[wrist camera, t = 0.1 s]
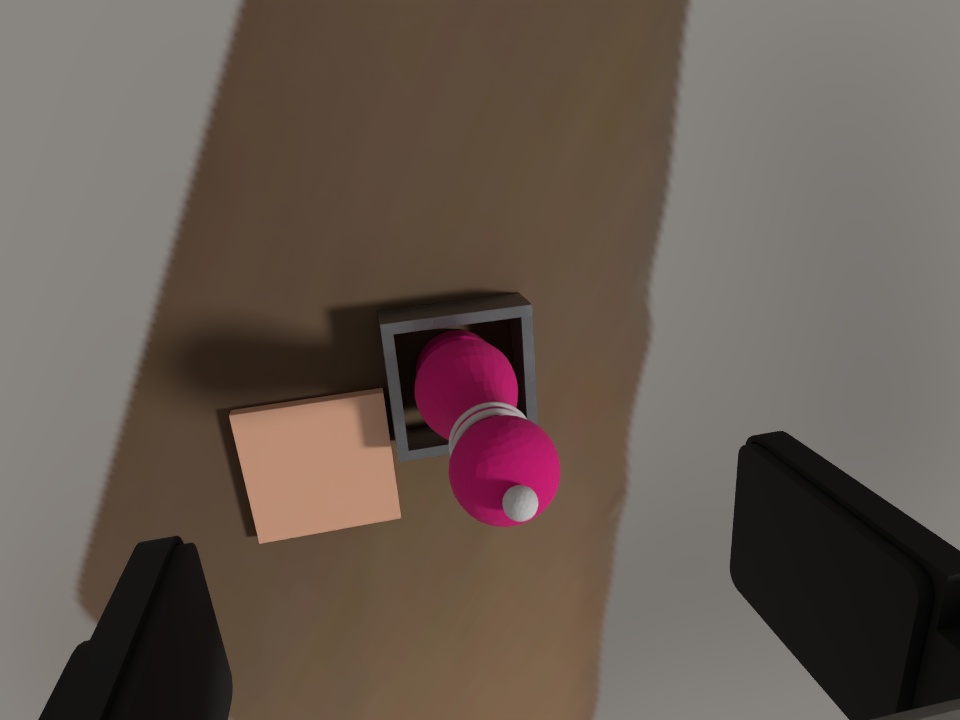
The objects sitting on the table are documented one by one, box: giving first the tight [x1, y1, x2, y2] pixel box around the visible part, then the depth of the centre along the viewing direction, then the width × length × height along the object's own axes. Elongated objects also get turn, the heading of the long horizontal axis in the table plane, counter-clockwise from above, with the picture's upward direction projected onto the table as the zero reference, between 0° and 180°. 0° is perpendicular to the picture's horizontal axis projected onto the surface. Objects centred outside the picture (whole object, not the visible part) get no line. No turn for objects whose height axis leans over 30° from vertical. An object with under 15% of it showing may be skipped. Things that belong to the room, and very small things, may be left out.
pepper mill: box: [414, 330, 560, 527], centre depth 40 cm, size 7×7×20 cm
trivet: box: [229, 388, 401, 544], centre depth 49 cm, size 11×11×1 cm
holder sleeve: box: [377, 293, 538, 462], centre depth 48 cm, size 11×11×4 cm
